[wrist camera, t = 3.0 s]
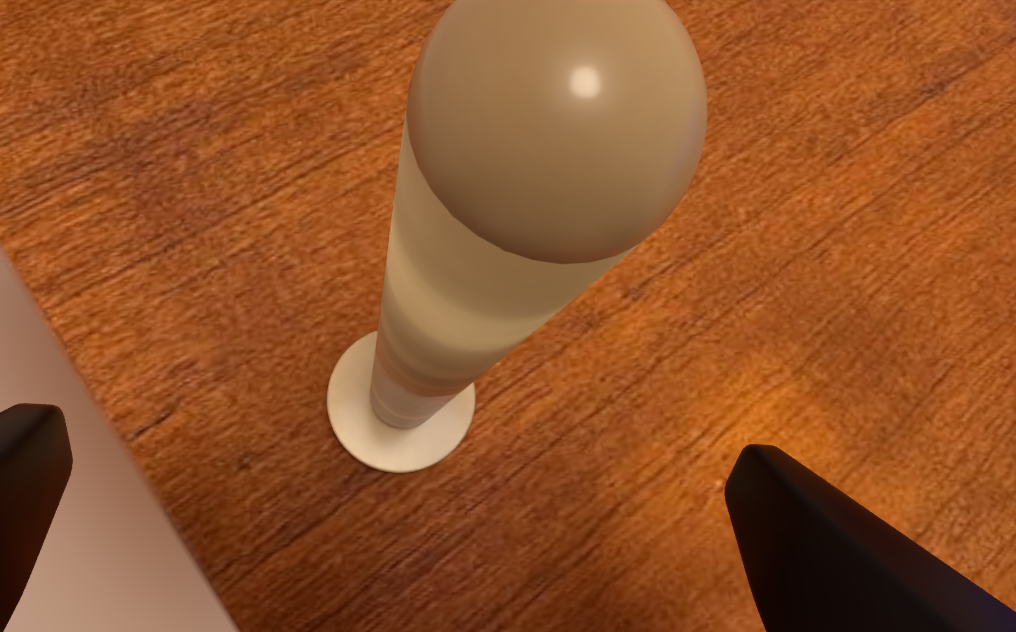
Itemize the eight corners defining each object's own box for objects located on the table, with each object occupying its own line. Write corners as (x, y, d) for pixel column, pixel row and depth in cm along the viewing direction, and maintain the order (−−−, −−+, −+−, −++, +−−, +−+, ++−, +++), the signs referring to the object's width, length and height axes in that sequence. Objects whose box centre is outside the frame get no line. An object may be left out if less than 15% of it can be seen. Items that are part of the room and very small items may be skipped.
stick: (380, 503, 17) (522, 677, 2) (300, 382, 18) (-49, -174, 3) (496, 418, 19) (1086, 171, 4) (420, 307, 19) (660, -360, 4)
